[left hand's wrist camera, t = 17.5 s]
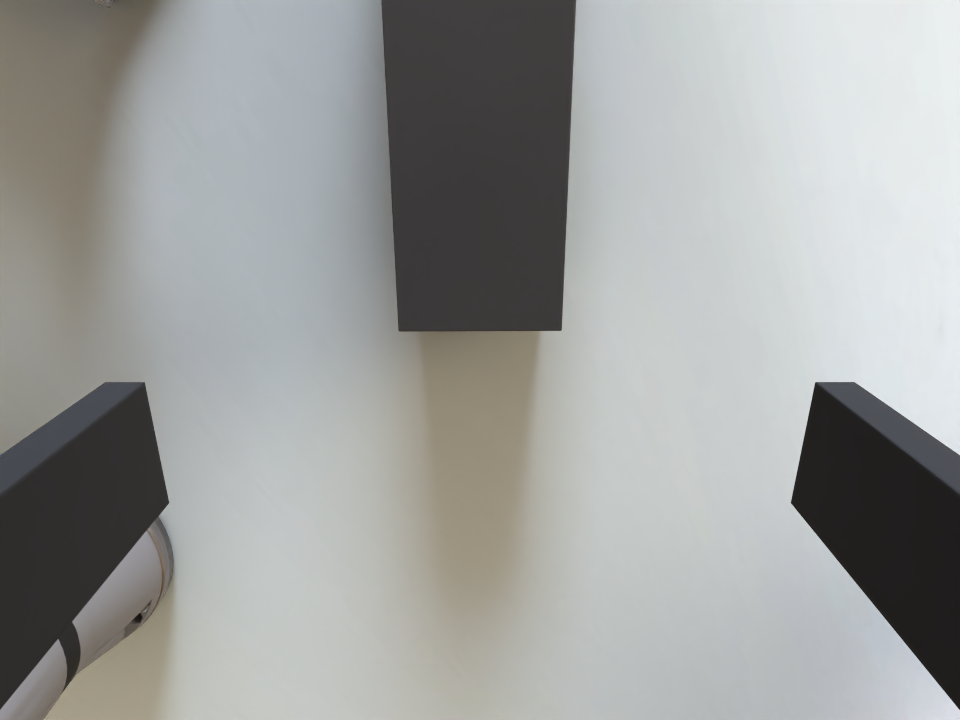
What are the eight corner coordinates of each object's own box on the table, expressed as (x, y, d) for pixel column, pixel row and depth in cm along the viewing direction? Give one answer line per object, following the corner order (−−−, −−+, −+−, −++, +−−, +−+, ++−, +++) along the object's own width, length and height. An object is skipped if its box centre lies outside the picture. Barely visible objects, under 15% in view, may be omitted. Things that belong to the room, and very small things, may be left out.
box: (544, 286, 40) (561, 331, 31) (415, 287, 40) (398, 331, 31) (564, -338, 29) (599, -524, 21) (390, -337, 29) (354, -523, 21)
